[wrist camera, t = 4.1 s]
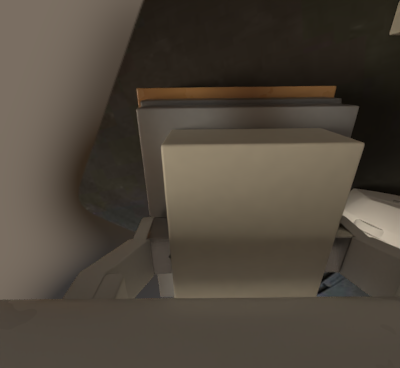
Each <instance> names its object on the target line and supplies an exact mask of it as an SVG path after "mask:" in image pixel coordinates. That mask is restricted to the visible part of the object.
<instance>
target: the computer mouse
mask: <svg viewBox="0 0 400 368" xmlns="http://www.w3.org/2000/svg"><path fill="white" fill-rule="evenodd" d="M343 216H345V217H347V218H348V219H349V220H350V221H351V222H352V223H353V224H355V225H356V226H357V227H358V228H359V229H360V230H361V231H363V232H364V233H365V234H366V235H367V236H368V237H373V238H376V239H378V240H381V241H383V242H385V243H388V244H390V245H392V246H395V247H397V248H399V249H400V196H397V195H392V194H387V193H382V192H376V191H369V190H363V189H355V188H353V189H352V190H351V191H350V193H349V196H348V199H347V202H346V205H345V208H344V211H343Z"/></svg>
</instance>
